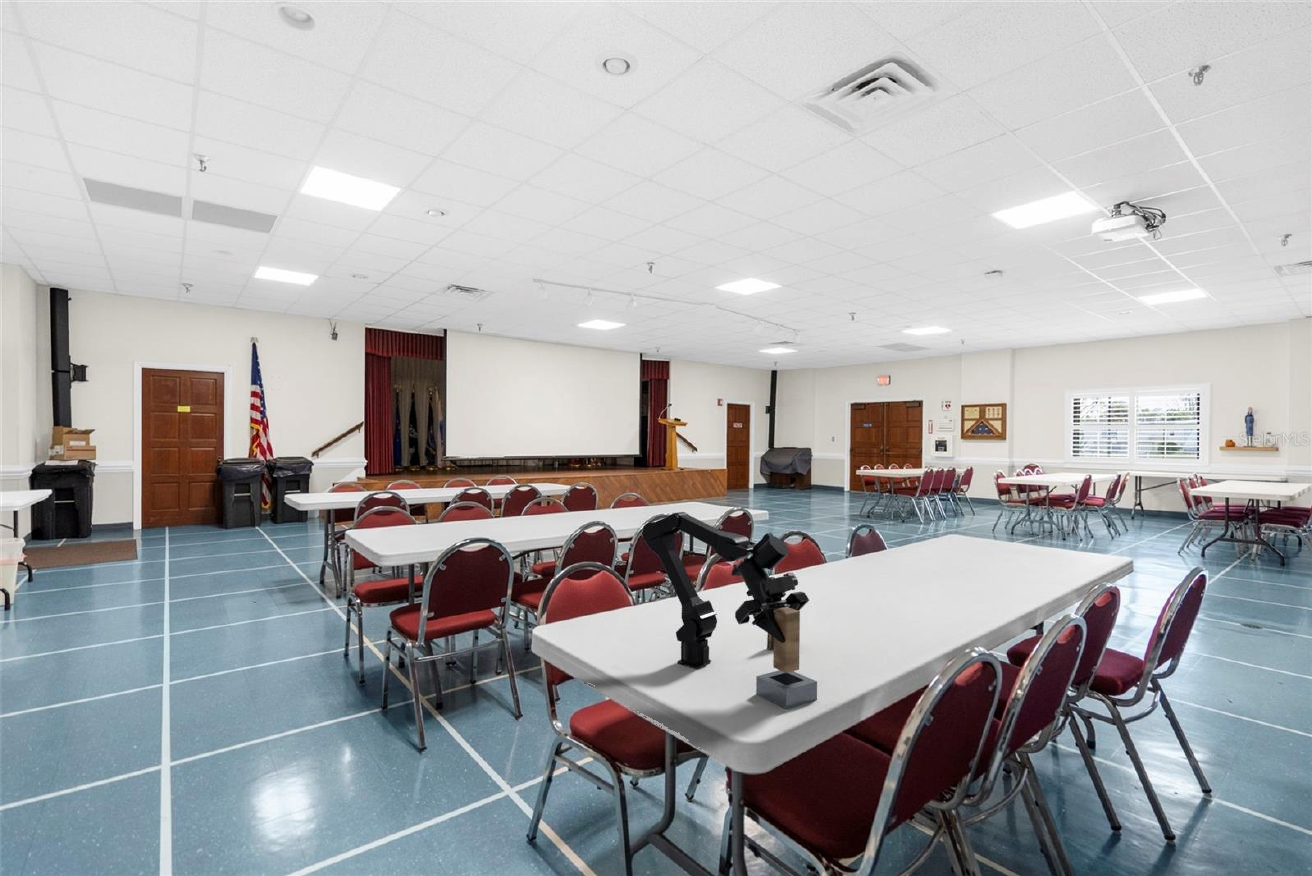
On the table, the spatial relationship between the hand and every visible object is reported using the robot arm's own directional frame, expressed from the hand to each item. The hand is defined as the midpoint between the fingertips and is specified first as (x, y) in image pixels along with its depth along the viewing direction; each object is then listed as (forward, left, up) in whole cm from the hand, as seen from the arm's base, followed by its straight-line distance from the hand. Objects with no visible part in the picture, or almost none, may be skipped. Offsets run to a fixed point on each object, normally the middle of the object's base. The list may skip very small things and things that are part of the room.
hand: (791, 640), depth 137 cm
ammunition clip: (-17, +32, -13) cm, 39 cm away
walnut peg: (-1, 0, -7) cm, 7 cm away
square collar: (-1, 0, -13) cm, 13 cm away
